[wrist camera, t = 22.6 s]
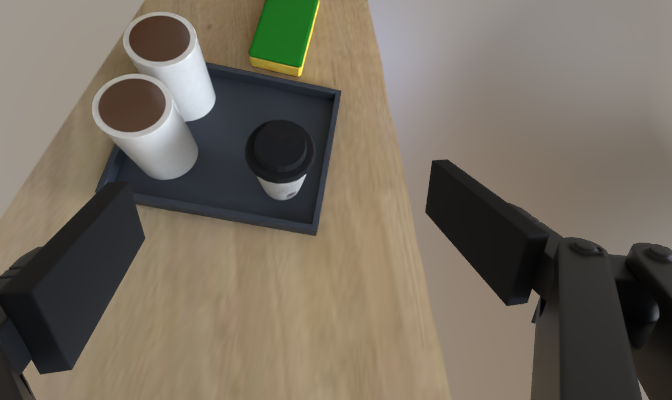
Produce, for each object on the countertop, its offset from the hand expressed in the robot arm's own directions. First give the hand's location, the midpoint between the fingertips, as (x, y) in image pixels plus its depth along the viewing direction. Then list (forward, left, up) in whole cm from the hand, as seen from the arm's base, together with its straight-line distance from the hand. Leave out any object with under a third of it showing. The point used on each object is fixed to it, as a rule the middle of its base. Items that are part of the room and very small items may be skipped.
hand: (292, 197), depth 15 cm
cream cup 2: (-17, +19, -25) cm, 36 cm away
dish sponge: (-7, +33, -26) cm, 43 cm away
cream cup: (-17, +11, -25) cm, 32 cm away
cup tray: (-10, +14, -26) cm, 31 cm away
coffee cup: (-3, +10, -25) cm, 27 cm away
